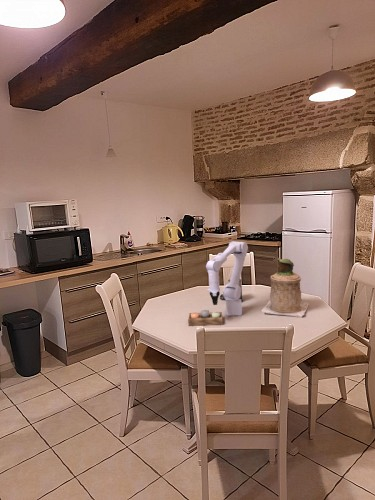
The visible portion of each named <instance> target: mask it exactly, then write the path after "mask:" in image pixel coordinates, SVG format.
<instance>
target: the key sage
mask: <svg viewBox="0 0 375 500" xmlns="http://www.w3.org/2000/svg"><path fill="white" fill-rule="evenodd" d="M212 312H213V311H212ZM219 312H220V311H214V312H213V313H212V318H214V317H220V313H219Z"/></svg>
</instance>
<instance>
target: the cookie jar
mask: <svg viewBox="0 0 375 500" xmlns="http://www.w3.org/2000/svg"><path fill="white" fill-rule="evenodd" d="M277 260H278V262H277V263H278V265H277V272H276V273H274V274H272V275H270V293H269V300H268V301H267V304H266V305H264V307H263V308H262V309H261V312H262V315H265V314H270V315H278V316H279V315H280V316H288V317H293V318H294V317H296V318H303V317H304V316H305V313H306V311H307V310H308V307H309V303H308V302H306V301H305V302H304V301H302V291H301V281H302V277H301V276H300V275H298V274H297V273H296V272H294V271H293V270H294V266H295V265H294V262H293V261H291V259H288V258H284V259H283V258H282V259H281V258H279V257H278V259H277Z"/></svg>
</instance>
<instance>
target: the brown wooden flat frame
mask: <svg viewBox="0 0 375 500" xmlns="http://www.w3.org/2000/svg"><path fill="white" fill-rule="evenodd" d="M218 312H219V313H220V317H214V318H212V313H213V311H211V312H210V311H209V318H201V312H198V313H199V318H191V313H192V312H190V313H189V314H188V320H187V324H188V327H201V326H202V327H203V326H206V327H207V326H223V324H224V323H223V312H222V311H218Z"/></svg>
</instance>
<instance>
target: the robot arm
mask: <svg viewBox="0 0 375 500" xmlns="http://www.w3.org/2000/svg"><path fill="white" fill-rule="evenodd" d="M248 250H249V247H248V243H247V242H246V241H234V240H231V241H230V242H229V243H228V247H227V248H225V249H224V251H222V252H219V253H217V255H216V256H214V258H212V259H211V260H208V261H207V262H206V265H205V268H206V271H207V273H208V286H209V288H207V291H208V292H209V296H210V298H211V302H212V304H213V306H217V305H218V303H219V302H218V301H219V298H220V295H221V293H220V291H221V289H220V275H219V274H220V270H221V267H222V266H223V264H224V263H225V262H226V261H227V259H228V257H230V255H232V254H233V256H234V257H235V260H234V264H233V267H232V271H231V276H230V278H229V279H230V282H229V281H228V283H227V284H225V286H224V288H223V290H222V294H223V296H224V298H225V299H226V300H225V308H226V309H225V316H232V317H233V316H243V305H242V304H243V303H242V302H241V299H239V298H240V296H241V288H240V286H239V285H238V284H239V280H240V279H241V276H242V271H243V268H244V265H245V264H244V263H245V260H246V257H247V253H248ZM232 288H233V289H232Z"/></svg>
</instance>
